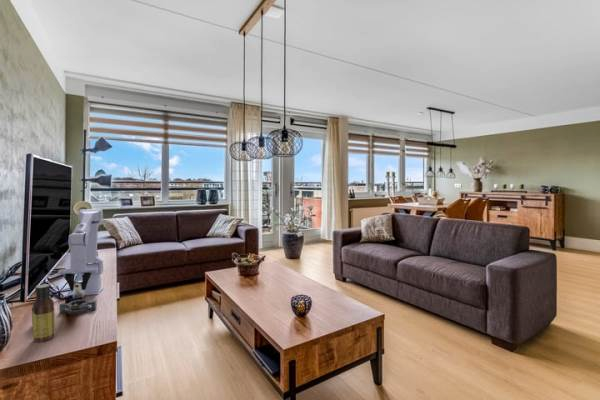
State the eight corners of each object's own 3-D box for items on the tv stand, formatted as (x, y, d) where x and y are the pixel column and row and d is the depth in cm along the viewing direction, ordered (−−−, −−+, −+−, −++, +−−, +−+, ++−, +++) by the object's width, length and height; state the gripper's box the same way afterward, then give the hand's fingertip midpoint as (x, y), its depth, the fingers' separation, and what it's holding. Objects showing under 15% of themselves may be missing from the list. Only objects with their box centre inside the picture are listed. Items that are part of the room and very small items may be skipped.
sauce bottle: (41, 334, 114) (41, 282, 113) (59, 334, 115) (59, 282, 114) (27, 343, 108) (27, 288, 107) (45, 343, 108) (45, 288, 107)
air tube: (74, 295, 137) (74, 280, 136) (85, 294, 138) (85, 279, 138) (71, 298, 133) (71, 283, 132) (82, 298, 134) (82, 282, 134)
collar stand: (63, 309, 137) (63, 299, 137) (98, 306, 141) (98, 297, 141) (56, 316, 130) (56, 306, 130) (93, 312, 134) (93, 303, 134)
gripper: (54, 262, 129) (54, 294, 129) (94, 260, 133) (94, 291, 134) (61, 258, 135) (61, 288, 136) (99, 257, 140) (99, 286, 141)
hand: (78, 289), depth 135 cm, fingers closed on air tube, 4 cm apart
